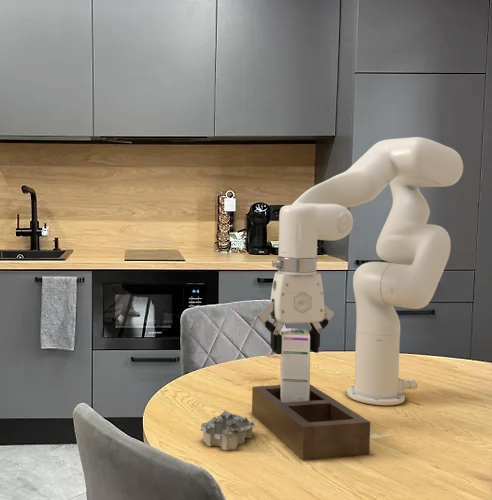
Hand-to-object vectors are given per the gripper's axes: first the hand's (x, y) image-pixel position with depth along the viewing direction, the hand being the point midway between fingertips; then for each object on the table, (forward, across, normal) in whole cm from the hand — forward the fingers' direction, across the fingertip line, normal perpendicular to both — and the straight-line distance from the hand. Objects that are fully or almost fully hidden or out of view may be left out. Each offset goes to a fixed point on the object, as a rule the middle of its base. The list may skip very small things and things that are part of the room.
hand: (295, 351), depth 126 cm
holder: (+15, 0, -6) cm, 16 cm away
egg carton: (+15, -16, -6) cm, 23 cm away
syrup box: (+10, 0, 0) cm, 10 cm away
